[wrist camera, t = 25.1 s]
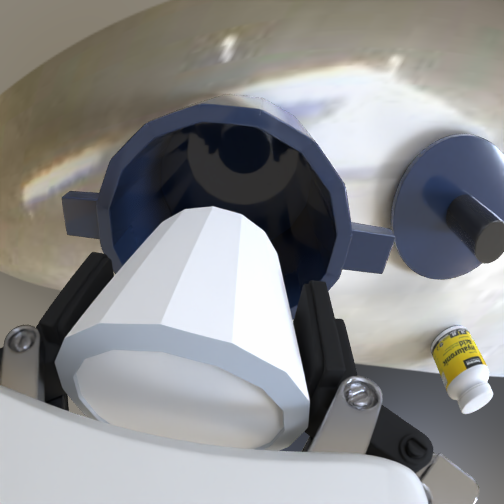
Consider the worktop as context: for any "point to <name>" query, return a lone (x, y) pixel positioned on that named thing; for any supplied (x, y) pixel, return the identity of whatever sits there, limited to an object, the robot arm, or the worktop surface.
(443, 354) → the supplement bottle
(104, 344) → the white cup
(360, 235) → the pot
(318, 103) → the worktop surface
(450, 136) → the pot lid
